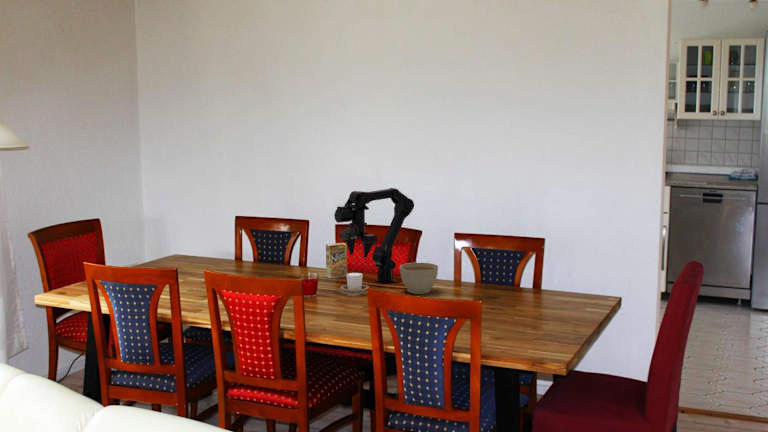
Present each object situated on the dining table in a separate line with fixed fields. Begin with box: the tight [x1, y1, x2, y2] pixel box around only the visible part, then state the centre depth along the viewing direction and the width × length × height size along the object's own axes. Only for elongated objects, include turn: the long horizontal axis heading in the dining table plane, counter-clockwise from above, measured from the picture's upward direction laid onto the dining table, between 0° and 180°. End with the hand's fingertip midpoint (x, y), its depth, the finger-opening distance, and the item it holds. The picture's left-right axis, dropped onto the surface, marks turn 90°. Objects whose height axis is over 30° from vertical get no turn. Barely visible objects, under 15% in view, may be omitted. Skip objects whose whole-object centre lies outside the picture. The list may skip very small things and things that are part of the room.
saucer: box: [334, 283, 370, 299], centre depth 342 cm, size 12×12×2 cm
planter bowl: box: [399, 262, 439, 295], centre depth 343 cm, size 16×16×11 cm
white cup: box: [346, 272, 363, 290], centre depth 341 cm, size 7×7×7 cm
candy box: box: [325, 242, 348, 279], centre depth 371 cm, size 9×4×15 cm, turn 118°
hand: (358, 256), depth 353 cm, fingers open, 9 cm apart
